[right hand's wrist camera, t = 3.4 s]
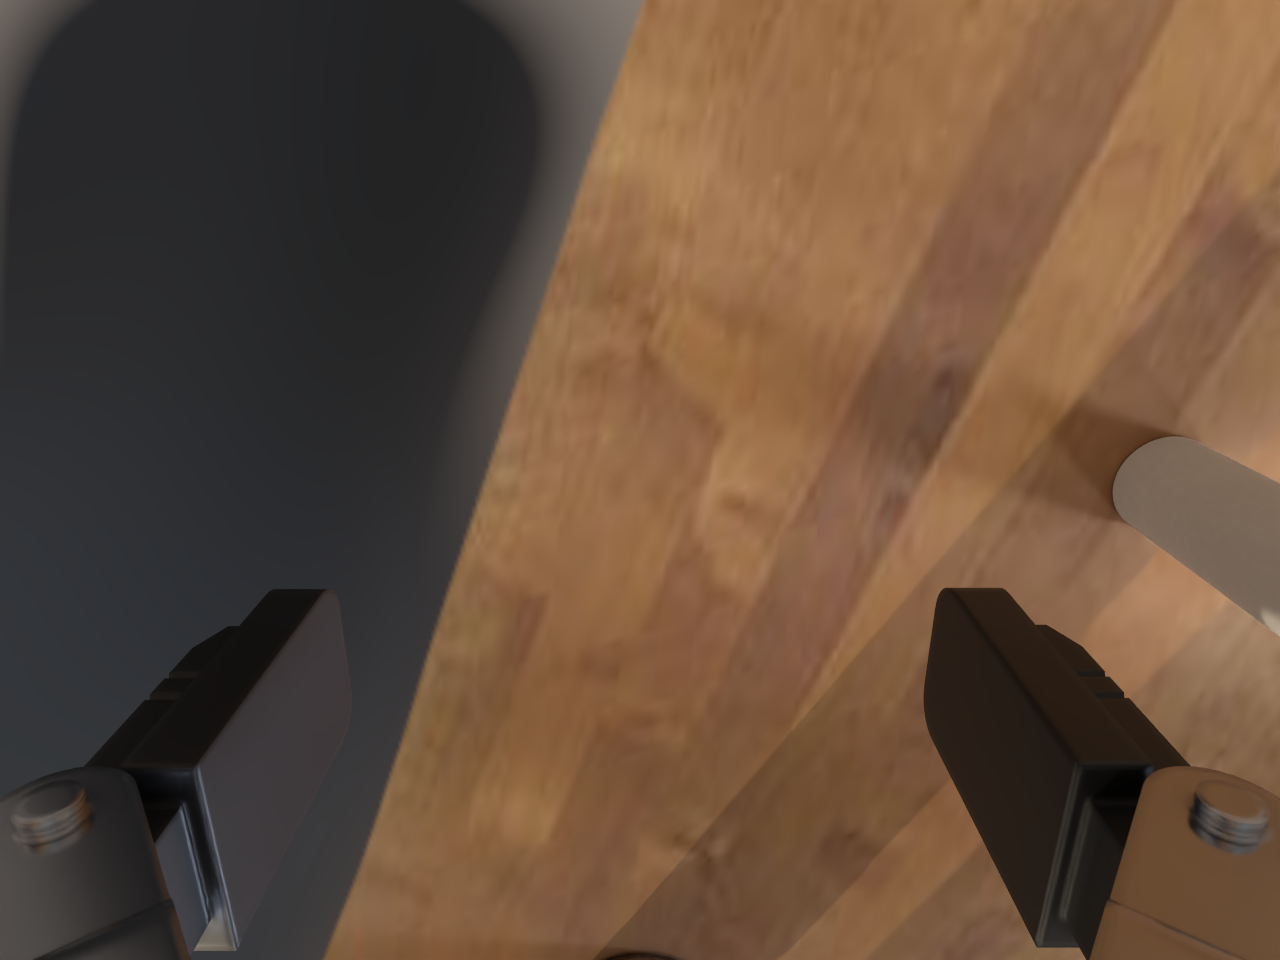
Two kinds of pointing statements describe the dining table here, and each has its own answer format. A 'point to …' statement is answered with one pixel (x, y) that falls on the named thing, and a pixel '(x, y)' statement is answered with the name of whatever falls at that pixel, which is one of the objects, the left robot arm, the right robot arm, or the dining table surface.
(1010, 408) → the dining table surface
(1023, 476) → the dining table surface
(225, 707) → the right robot arm
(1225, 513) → the bottle
